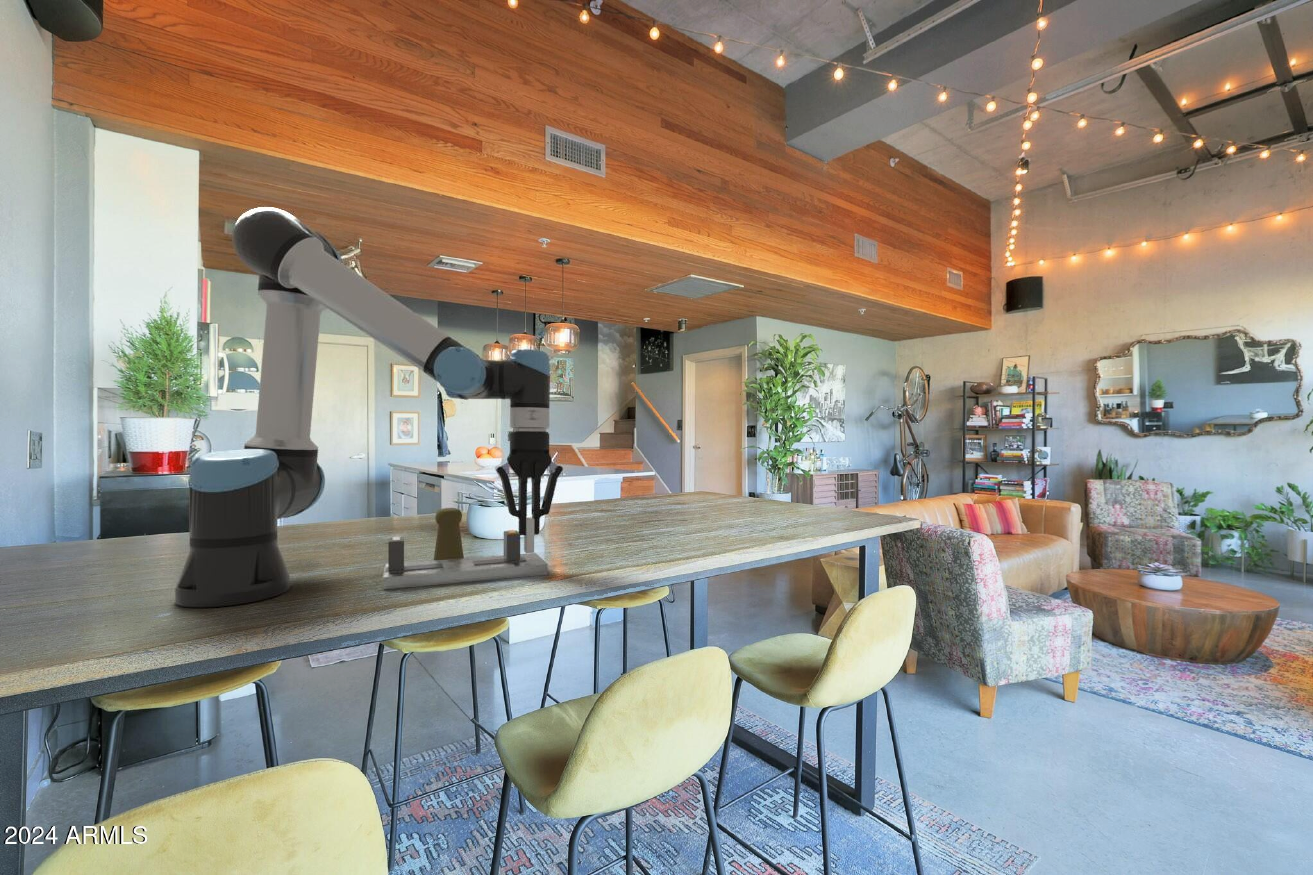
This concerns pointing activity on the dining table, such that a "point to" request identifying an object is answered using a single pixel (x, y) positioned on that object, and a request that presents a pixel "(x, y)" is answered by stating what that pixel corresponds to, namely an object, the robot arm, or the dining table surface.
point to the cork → (448, 535)
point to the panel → (463, 571)
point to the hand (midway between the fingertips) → (528, 551)
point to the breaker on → (396, 553)
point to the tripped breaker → (511, 545)
